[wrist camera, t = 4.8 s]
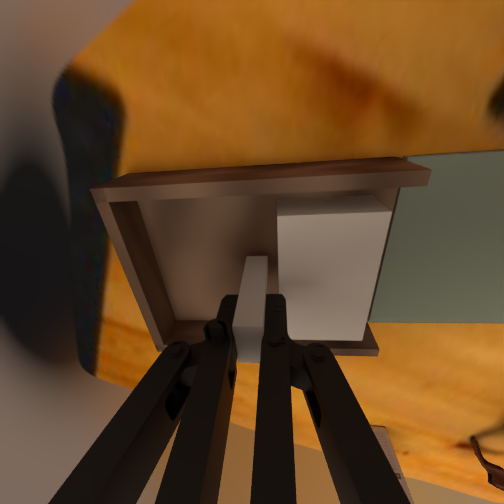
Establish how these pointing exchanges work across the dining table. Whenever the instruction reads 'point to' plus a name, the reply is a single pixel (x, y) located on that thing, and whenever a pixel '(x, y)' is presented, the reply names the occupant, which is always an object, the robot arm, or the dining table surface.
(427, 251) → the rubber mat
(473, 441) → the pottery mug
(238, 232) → the walnut box
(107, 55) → the dining table surface
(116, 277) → the dining table surface
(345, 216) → the light grey block
